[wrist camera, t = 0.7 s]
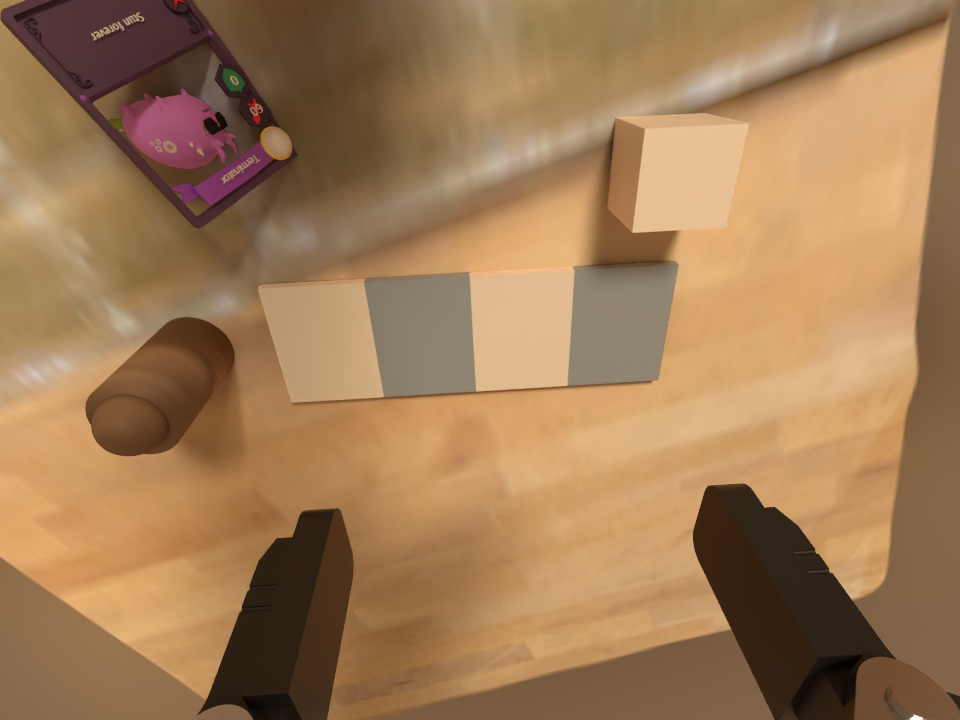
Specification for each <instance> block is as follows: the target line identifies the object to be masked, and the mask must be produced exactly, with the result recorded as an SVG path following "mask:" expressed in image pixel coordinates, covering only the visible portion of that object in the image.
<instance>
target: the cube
mask: <svg viewBox="0 0 960 720" xmlns="http://www.w3.org/2000/svg"><path fill="white" fill-rule="evenodd" d="M748 127H749V123H745V122H741V121H736V120H732V119H728V118H723V117H719V116H715V115H710V114H706V113H698V114H678V115H658V116H638V117H618V118H616V119H615V130H614V141H613V152H612V162H611V173H610V184H609V195H608V206H607V209H608V210H609V211H610V212H612V213H613V214H614V215H615V216H616V217H617V218H618V219H619V220H620V221H621V222H622V223H623V224H624V225H625V226H626V227H627V228H628V229H629V230H630V231H631V232H632V233H639V232H657V231H675V230H693V229H711V228H726V226H727V222H728V217H729V213H730V208H731V204H732V199H733V195H734V190H735V186H736V181H737V177H738V172H739V168H740V163H741V159H742V154H743V149H744V145H745V140H746V136H747V131H748Z"/></svg>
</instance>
